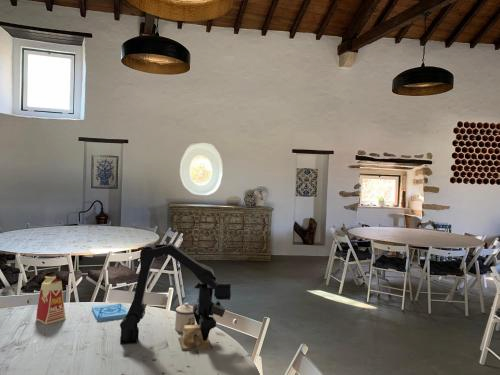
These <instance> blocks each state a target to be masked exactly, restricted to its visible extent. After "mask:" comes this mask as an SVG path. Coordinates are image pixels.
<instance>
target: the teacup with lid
mask: <svg viewBox="0 0 500 375" xmlns="http://www.w3.org/2000/svg"><path fill="white" fill-rule="evenodd" d="M193 306H194V305H190V304H189V302H184V304H181V305H180V306H177V307H176V309H175V321H174V322H175V324H174V326H175V327H174V329H175V331H176V332H178V333H183V329H184V326H185V325H196V320H195V316H194V314H193V313H194V312H193Z"/></svg>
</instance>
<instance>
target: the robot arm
mask: <svg viewBox="0 0 500 375" xmlns="http://www.w3.org/2000/svg"><path fill="white" fill-rule="evenodd" d="M168 255H169V256H170V257H172V258H173V259H174V260H176V262H179V264H180V265H182V266H184V267H186V268H187V269H188V270H190V271H191V273H192V274H194V276H195V277H196V278H197V279H198V281H197V283H195V284H194V289H198V296H197V297H198V298H197V299H196V302H197V304H194V305H192V306H193V312H194V313H193V314H194V316H195V324H196V325H199V327H200V330H201V334H202V337H203V340H204V341H206V340H207V337H208V335H210V332H211V330H212V329H214V328H216V327H217V321H216V319H215V318H214V317H213V316H214V315H215V316H219V317H220V318H223V317H224V315H225V312H226V308H225V307H224V306H223V305H222V304H221V302H220V301H230V300H231V297H232V296H231V294H232V291H231V282H218V280H217V278H216V276H215V273H214V269H213V268H212V267H210V266H207V265H206V264H204V263H200V262H198V261H197V260H195V259H194V258H193V257H191V256H189V255H188V254H187V253H185V252H184V250H183V251H182V250H181V249H180V248H178V247H177V246H176V244H174V243H171V242H170V243H163V244H160V243H158V244H154V243H148V244H145V246H144V247H143V248H141V250H140V253H139V265H140V267H139V272H138V277H137V281H136V282H137V283H136V286H135V291H134V296H133V300H132V303H131V304H130V306H129V308H128V310H127V312H128V313H127V315H126V316H125V317H124V318H122V320H121V321H120V324H119V326H120V336H119V344H120V345H125V344H137V343H138V340H139V332H140V330H139V329H140V328H139V326H138V324H139V323H140V322H141V320H143V318H144V317H145V314H146V307H147V306H148V304H147V303H144V302H145V300H144V299H145V296H146V294H145V293H146V290H147V284H148V281H149V278H150V272H151V267H152V266H153V263H154V261H155V259H156V258H159V257H165V256H168ZM213 297H214V298H215V299H216V300H215V301H213ZM219 300H220V301H219Z"/></svg>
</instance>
